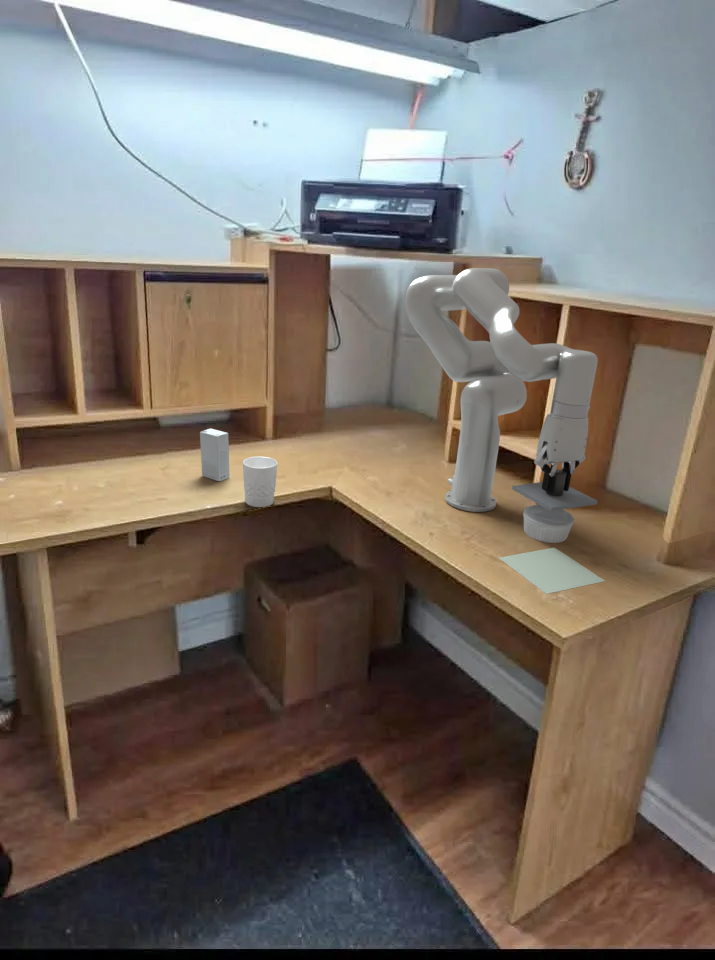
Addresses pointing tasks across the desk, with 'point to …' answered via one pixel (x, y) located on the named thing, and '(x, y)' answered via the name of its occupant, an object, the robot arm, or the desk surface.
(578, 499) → the lid
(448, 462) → the desk surface
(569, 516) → the ramekin
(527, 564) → the mat
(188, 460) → the desk surface
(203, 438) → the skincare box
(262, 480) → the white cup
